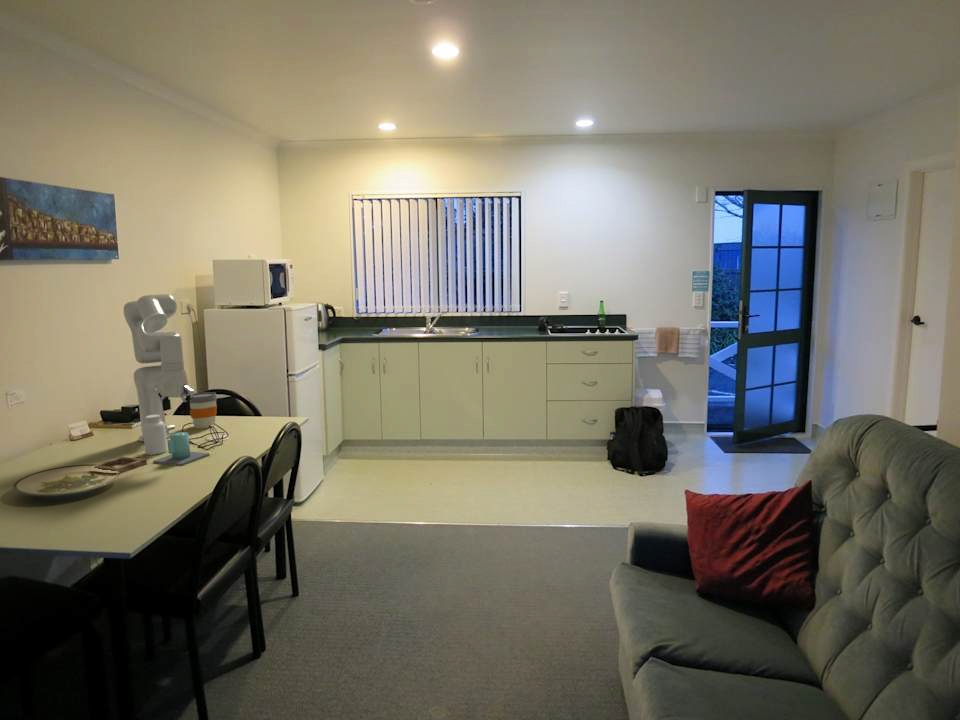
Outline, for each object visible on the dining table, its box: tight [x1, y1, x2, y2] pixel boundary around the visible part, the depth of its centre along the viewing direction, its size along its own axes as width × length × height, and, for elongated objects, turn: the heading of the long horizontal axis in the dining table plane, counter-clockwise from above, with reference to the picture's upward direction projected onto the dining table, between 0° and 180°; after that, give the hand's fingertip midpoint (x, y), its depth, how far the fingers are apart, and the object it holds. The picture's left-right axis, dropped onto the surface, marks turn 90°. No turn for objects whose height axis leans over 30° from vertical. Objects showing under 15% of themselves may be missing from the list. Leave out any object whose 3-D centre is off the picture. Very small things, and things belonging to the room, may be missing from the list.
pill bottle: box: [143, 415, 168, 456], centre depth 258 cm, size 8×8×15 cm
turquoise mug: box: [166, 431, 191, 459], centre depth 246 cm, size 8×6×9 cm
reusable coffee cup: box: [189, 391, 218, 429], centre depth 301 cm, size 13×13×15 cm
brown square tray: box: [93, 456, 148, 474], centre depth 239 cm, size 13×13×2 cm
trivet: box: [152, 451, 210, 467], centre depth 248 cm, size 14×14×1 cm
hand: (176, 410), depth 246 cm, fingers open, 9 cm apart
